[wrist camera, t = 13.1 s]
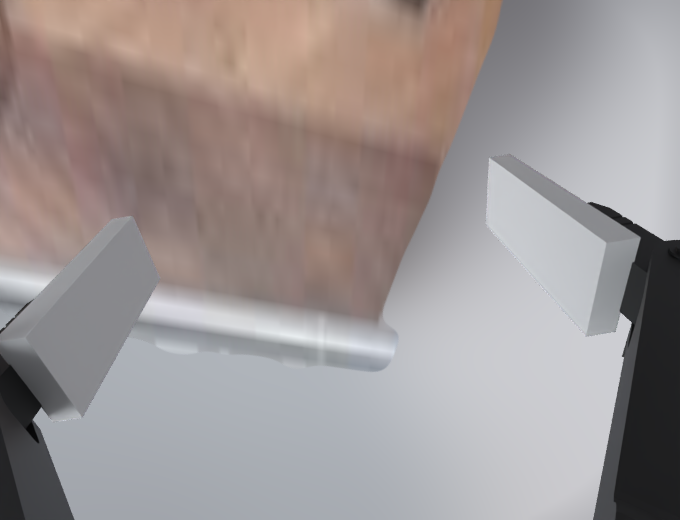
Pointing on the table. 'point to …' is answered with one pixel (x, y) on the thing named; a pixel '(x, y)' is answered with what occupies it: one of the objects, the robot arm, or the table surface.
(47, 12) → the table surface
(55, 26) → the table surface
